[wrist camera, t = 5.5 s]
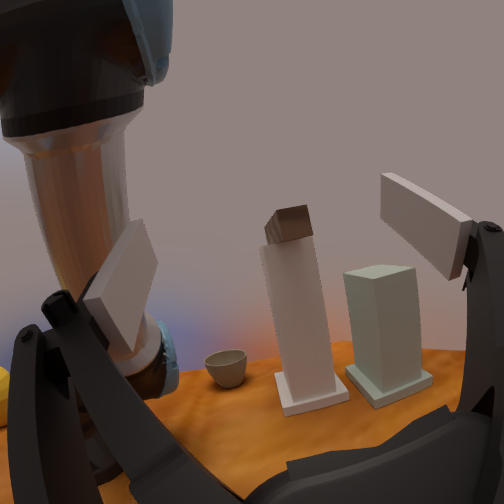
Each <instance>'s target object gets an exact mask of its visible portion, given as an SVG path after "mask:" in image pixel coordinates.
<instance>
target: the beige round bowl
mask: <svg viewBox="0 0 504 504" xmlns="http://www.w3.org/2000/svg"><path fill="white" fill-rule="evenodd" d="M246 360H247V357H246V352H245V351H243V350H237V349H235V350H234V349H233V350H224V351H220V352H216V353H214V354H211V355H209V356H208V357H206V358H205V360H204V364H205V366H206V368H207V370H208V372H209V373H210V375H211V376H212V378H213V379H214V380H215V381H216V382H217V383H218V384H219V385H220V386H222V387H224V388H232V387H236V386H238V385H239V384H241V382H242V380H243V377H244V374H245V370H246V363H247V361H246Z"/></svg>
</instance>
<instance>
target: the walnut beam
mask: <svg viewBox="0 0 504 504" xmlns="http://www.w3.org/2000/svg"><path fill="white" fill-rule="evenodd" d="M264 228H265V233H266V238H267V243H268V245H271V244H276V243H281V242H287V241H292V240H297V239H301V238H305V237H308V236H312V235H313V231H312V227H311V223H310V217H309V213H308V209H307V205H302V206H296V207H291V208H285V209H279V210H276V212H275V213H274V214H273V216H272V217H271V219H270V220H269V222H268V223H267V225H266V226H265V227H264Z"/></svg>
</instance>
